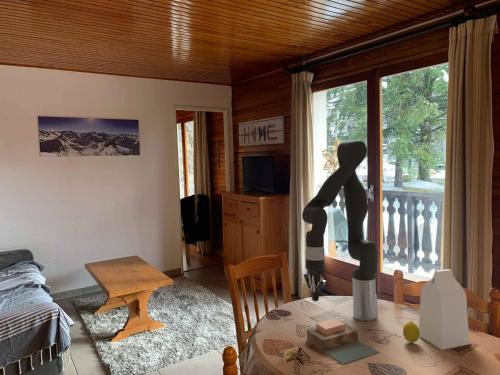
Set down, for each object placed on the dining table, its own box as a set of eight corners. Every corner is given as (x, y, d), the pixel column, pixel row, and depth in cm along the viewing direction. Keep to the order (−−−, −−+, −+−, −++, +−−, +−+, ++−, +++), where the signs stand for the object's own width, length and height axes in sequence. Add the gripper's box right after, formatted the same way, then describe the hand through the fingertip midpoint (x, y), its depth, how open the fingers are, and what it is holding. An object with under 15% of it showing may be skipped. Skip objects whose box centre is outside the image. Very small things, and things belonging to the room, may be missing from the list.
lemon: (418, 340, 140) (418, 319, 139) (420, 347, 135) (420, 325, 134) (402, 338, 142) (402, 317, 141) (403, 345, 136) (403, 323, 136)
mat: (359, 341, 141) (359, 340, 141) (379, 352, 132) (379, 351, 132) (324, 351, 134) (324, 350, 134) (342, 364, 125) (342, 363, 125)
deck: (340, 330, 150) (340, 320, 150) (358, 340, 141) (358, 330, 141) (307, 340, 143) (306, 329, 143) (323, 351, 134) (323, 340, 134)
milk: (441, 349, 133) (441, 276, 131) (418, 335, 144) (418, 268, 142) (469, 344, 136) (469, 272, 134) (444, 330, 147) (444, 264, 145)
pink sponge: (335, 323, 148) (334, 318, 148) (345, 329, 142) (345, 324, 142) (316, 328, 144) (315, 323, 144) (325, 334, 138) (325, 329, 138)
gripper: (333, 259, 145) (333, 304, 146) (312, 252, 157) (313, 294, 158) (317, 262, 142) (317, 307, 143) (297, 255, 154) (298, 297, 155)
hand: (315, 300), depth 150 cm, fingers closed
